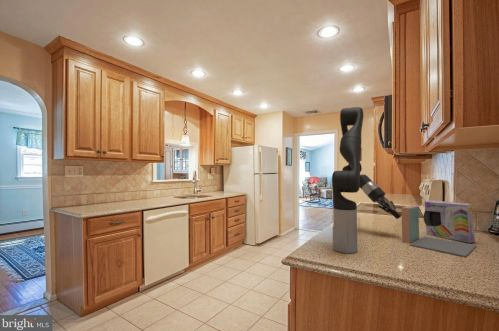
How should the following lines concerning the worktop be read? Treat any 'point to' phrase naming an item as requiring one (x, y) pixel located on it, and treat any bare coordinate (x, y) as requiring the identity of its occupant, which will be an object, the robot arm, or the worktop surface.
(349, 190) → the robot arm
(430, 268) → the worktop surface
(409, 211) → the tile
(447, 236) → the cake pan box
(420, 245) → the mat
